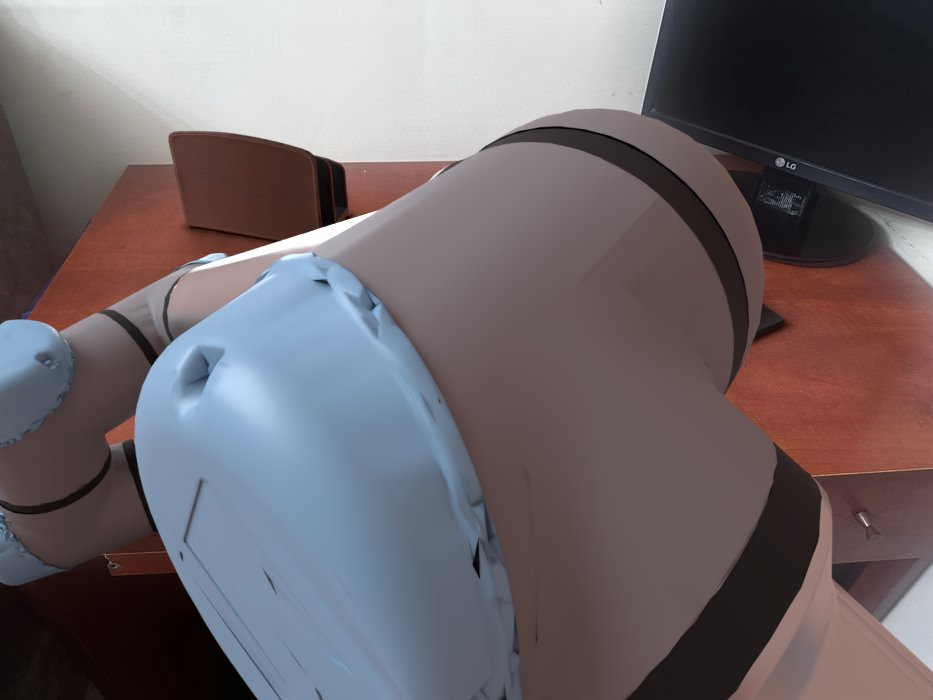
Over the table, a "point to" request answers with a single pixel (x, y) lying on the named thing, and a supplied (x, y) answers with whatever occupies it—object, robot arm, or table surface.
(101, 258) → the table surface
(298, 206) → the letter holder
